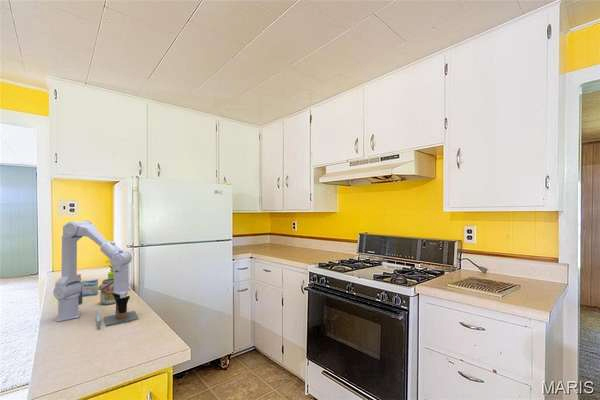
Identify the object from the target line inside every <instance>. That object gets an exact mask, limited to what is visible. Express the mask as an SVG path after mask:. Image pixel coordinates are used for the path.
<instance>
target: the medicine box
mask: <svg viewBox="0 0 600 400" xmlns="http://www.w3.org/2000/svg"><path fill="white" fill-rule="evenodd" d="M81 282H82V285H83V290H82V298H85V297H93V296H97V295H98V294H99V290H98V287H99V279H98V278H95V279H87V280H86V279H84V280H81Z"/></svg>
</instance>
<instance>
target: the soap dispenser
mask: <svg viewBox="0 0 600 400" xmlns="http://www.w3.org/2000/svg"><path fill="white" fill-rule="evenodd" d="M105 262H106V263H110V260H107V261H105ZM111 278H114V270H113V266H112V265H111V266H110V271H109V272H108V273H107V279H111Z"/></svg>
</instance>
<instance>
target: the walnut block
mask: <svg viewBox="0 0 600 400" xmlns="http://www.w3.org/2000/svg"><path fill="white" fill-rule="evenodd" d="M127 312H128V305H127V306H126V311H125V313H121V314H119V310H118V305H117V304H116V303H115V315H116V320H118V319H123V318H127Z"/></svg>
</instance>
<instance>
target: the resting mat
mask: <svg viewBox="0 0 600 400" xmlns="http://www.w3.org/2000/svg"><path fill="white" fill-rule="evenodd" d="M103 318H104V323H105V327H110V326H114V325H115V326H116V325H120V324H124V323H130V322H134V321H138V320H137V319H139V316H138V313H137V312H136V311H135V310H132V311H127V318H123V319H118V320H116V314H112V315H107V316H106V315H105V316H104V317H103ZM133 320H134V321H133Z"/></svg>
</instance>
